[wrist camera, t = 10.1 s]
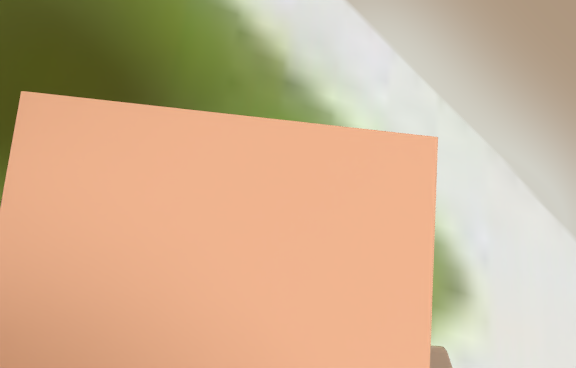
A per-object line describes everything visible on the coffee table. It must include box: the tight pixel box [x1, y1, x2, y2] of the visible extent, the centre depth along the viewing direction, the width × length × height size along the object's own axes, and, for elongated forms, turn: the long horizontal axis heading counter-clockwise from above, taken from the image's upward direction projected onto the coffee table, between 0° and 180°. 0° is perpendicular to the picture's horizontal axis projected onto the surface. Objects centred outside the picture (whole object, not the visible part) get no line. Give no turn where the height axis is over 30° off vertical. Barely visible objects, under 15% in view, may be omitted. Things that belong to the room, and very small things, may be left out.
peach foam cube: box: [0, 91, 438, 368], centre depth 11 cm, size 7×7×8 cm
